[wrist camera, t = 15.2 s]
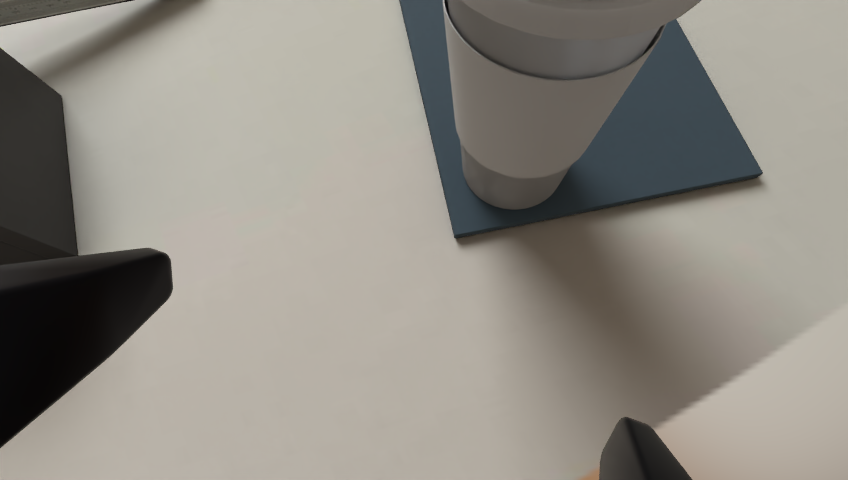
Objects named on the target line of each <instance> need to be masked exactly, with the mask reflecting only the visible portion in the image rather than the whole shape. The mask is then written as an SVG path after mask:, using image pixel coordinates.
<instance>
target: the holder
mask: <svg viewBox="0 0 848 480" xmlns="http://www.w3.org/2000/svg"><path fill="white" fill-rule="evenodd" d="M73 256H77V247H76V237H75V227H74V218H73V208H72V198H71V188H70V178H69V168H68V159H67V149H66V139H65V129H64V119H63V109H62V100H61V95H60V94H59V93H57V92H56V91H55V90H53V89H52V88H51V87H50V86H48V85H47V84H46V83H45V82H43V81H42V80H41V79H39V78H38V77H37V76H36V75H34V74H33V73H32V72H30V71H29V70H28V69H27V68H25V67H24V66H23V65H21V64H20V63H19V62H18V61H16V60H15V59H14V58H12V57H11V56H10V55H9V54H7V53H6V52H5V51H4V50H2V49H1V48H0V265H5V264H14V263H22V262H31V261H39V260H48V259H56V258H65V257H73Z"/></svg>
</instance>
